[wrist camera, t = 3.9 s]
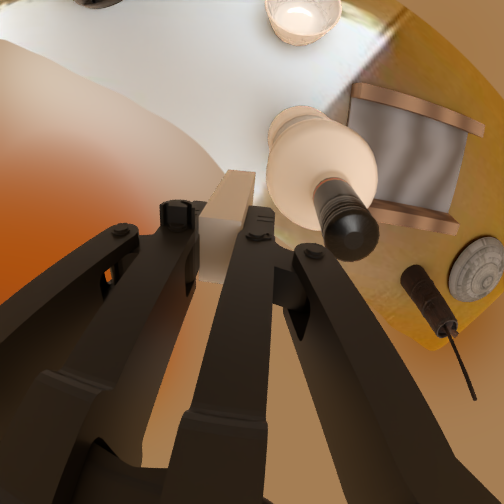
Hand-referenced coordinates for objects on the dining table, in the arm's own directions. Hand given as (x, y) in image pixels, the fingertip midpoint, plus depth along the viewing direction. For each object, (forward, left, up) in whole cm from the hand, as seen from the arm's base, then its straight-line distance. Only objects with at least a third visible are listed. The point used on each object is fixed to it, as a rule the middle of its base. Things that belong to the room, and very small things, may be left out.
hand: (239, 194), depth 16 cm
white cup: (-11, +13, -26) cm, 31 cm away
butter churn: (+35, +10, -26) cm, 45 cm away
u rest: (+14, +17, -26) cm, 33 cm away
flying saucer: (+41, +23, -26) cm, 54 cm away
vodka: (+3, +4, -26) cm, 26 cm away
